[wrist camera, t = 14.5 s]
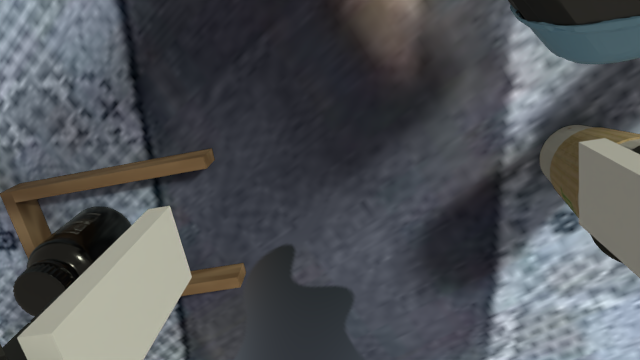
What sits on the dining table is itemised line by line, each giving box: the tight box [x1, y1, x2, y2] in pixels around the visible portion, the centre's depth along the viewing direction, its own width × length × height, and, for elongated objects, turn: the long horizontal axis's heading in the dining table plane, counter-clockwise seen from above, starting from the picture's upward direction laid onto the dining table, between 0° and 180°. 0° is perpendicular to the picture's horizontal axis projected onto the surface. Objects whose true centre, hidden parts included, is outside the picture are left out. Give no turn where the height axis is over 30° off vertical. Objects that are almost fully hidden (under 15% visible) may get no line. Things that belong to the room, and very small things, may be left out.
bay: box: [0, 148, 246, 296], centre depth 48 cm, size 17×22×5 cm
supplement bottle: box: [13, 206, 132, 316], centre depth 45 cm, size 7×7×12 cm
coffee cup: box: [540, 125, 640, 264], centre depth 39 cm, size 10×10×15 cm
